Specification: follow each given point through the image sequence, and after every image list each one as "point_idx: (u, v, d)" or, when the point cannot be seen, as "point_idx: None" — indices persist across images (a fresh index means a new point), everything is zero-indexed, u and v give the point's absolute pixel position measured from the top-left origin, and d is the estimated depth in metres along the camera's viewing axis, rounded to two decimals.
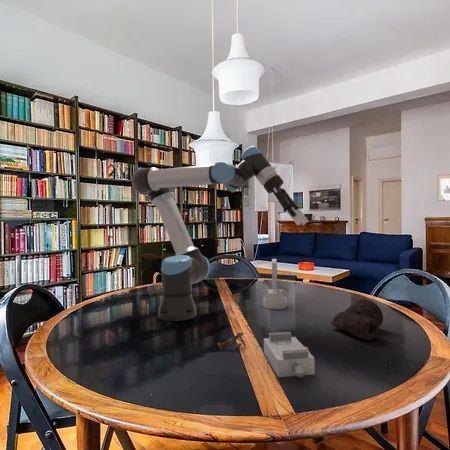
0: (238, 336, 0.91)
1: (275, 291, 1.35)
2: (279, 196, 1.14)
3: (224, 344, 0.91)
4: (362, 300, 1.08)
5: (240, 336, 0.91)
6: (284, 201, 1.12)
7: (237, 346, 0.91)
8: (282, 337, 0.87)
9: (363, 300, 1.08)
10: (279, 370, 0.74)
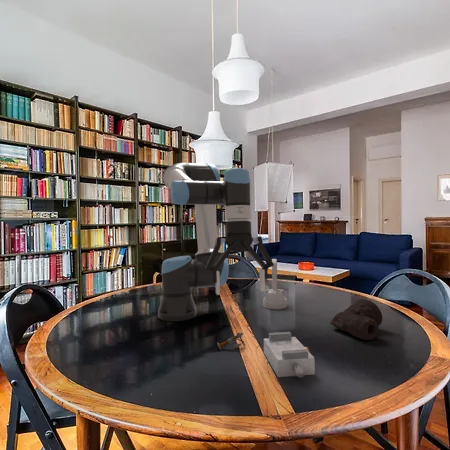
0: (238, 336, 0.91)
1: (275, 291, 1.35)
2: (213, 251, 0.91)
3: (224, 344, 0.91)
4: (361, 300, 1.08)
5: (240, 336, 0.91)
6: (208, 261, 0.90)
7: (237, 346, 0.91)
8: (282, 337, 0.87)
9: (362, 300, 1.08)
10: (279, 370, 0.74)
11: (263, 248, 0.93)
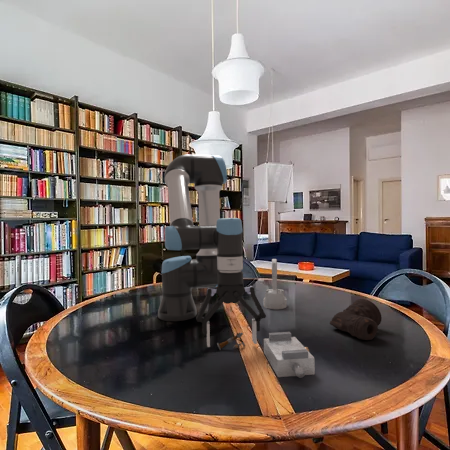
0: (237, 336, 0.91)
1: (275, 291, 1.35)
2: (203, 302, 0.90)
3: (223, 344, 0.91)
4: (360, 300, 1.08)
5: (239, 336, 0.91)
6: (198, 313, 0.90)
7: (236, 346, 0.91)
8: (282, 337, 0.87)
9: (361, 300, 1.08)
10: (279, 370, 0.74)
11: (255, 299, 0.91)
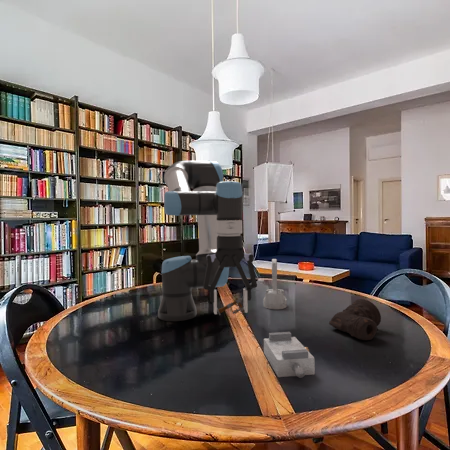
0: (237, 301, 0.91)
1: (275, 291, 1.35)
2: (206, 269, 0.91)
3: (223, 309, 0.91)
4: (360, 300, 1.08)
5: (239, 301, 0.91)
6: (204, 281, 0.90)
7: (236, 311, 0.91)
8: (282, 337, 0.87)
9: (361, 300, 1.08)
10: (279, 370, 0.74)
11: (251, 267, 0.91)
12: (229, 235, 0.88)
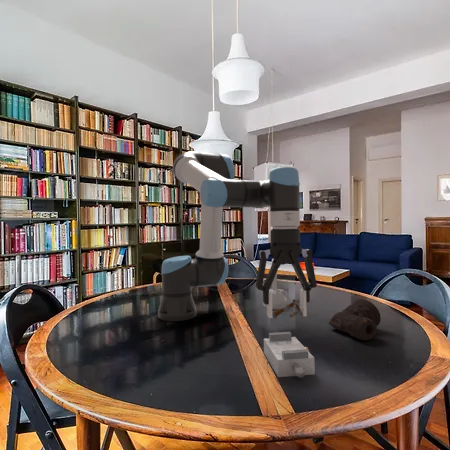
0: (294, 303, 0.80)
1: (275, 291, 1.35)
2: (259, 267, 0.80)
3: (278, 312, 0.80)
4: (360, 300, 1.08)
5: (296, 303, 0.80)
6: (257, 280, 0.80)
7: (293, 314, 0.80)
8: (282, 337, 0.87)
9: (361, 300, 1.08)
10: (279, 370, 0.74)
11: (310, 264, 0.80)
12: (287, 228, 0.78)
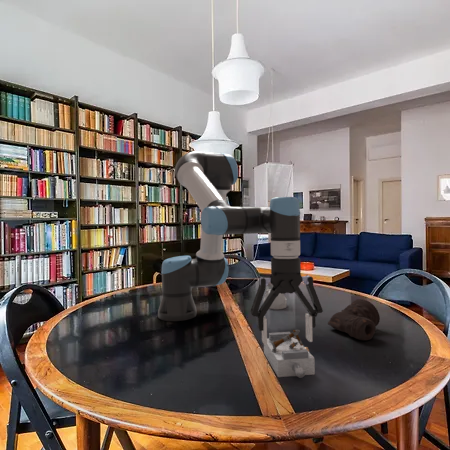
0: (294, 334, 0.80)
1: None
2: (257, 293, 0.80)
3: (279, 343, 0.80)
4: (359, 300, 1.08)
5: (296, 334, 0.81)
6: (253, 306, 0.80)
7: (293, 345, 0.81)
8: (282, 337, 0.87)
9: (360, 300, 1.08)
10: (279, 370, 0.74)
11: (313, 291, 0.81)
12: (287, 257, 0.78)
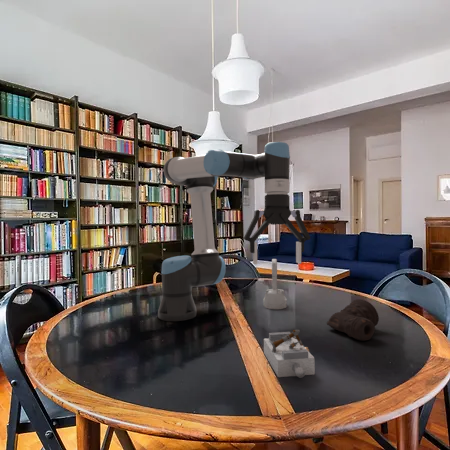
0: (294, 334, 0.80)
1: (275, 291, 1.35)
2: (251, 222, 0.95)
3: (278, 343, 0.80)
4: (358, 300, 1.08)
5: (296, 334, 0.81)
6: (247, 232, 0.95)
7: (293, 345, 0.80)
8: (282, 337, 0.87)
9: (359, 300, 1.08)
10: (279, 370, 0.74)
11: (301, 221, 0.95)
12: (278, 193, 0.93)
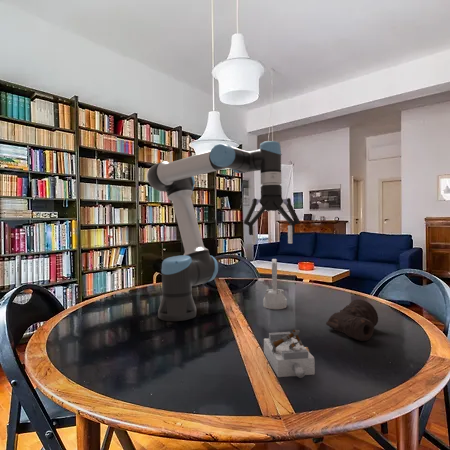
0: (294, 334, 0.80)
1: (275, 291, 1.35)
2: (250, 209, 1.12)
3: (278, 343, 0.80)
4: (357, 300, 1.08)
5: (296, 334, 0.81)
6: (246, 218, 1.12)
7: (293, 345, 0.80)
8: (282, 337, 0.87)
9: (358, 300, 1.08)
10: (279, 370, 0.74)
11: (291, 208, 1.13)
12: (272, 184, 1.10)
